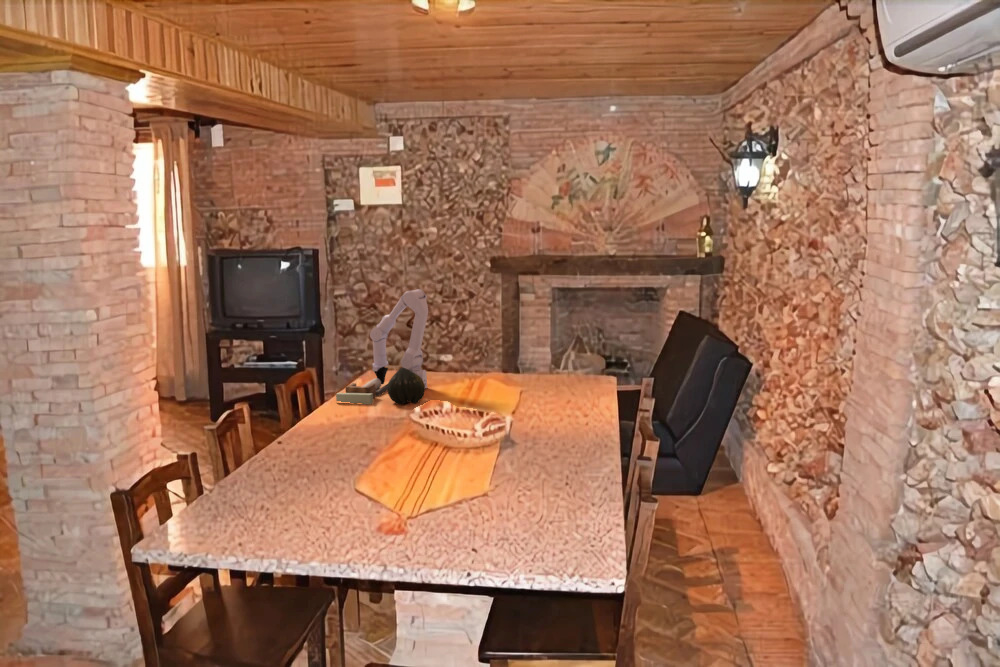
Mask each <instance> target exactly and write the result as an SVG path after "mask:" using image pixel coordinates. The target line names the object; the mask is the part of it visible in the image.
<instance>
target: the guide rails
mask: <svg viewBox="0 0 1000 667" xmlns="http://www.w3.org/2000/svg"><path fill="white" fill-rule="evenodd" d="M387 390H388V383H387V384H385V385H384V386H381V387H379V388H378V389H377V390H376V397H379V395H380V396H381V395H383V394H384V393H386V392H388V391H387ZM382 393H383V394H382Z"/></svg>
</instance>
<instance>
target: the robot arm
mask: <svg viewBox="0 0 1000 667" xmlns="http://www.w3.org/2000/svg"><path fill="white" fill-rule="evenodd" d="M427 298H428V296H427V294H426V293H425V292H424V290H423V289H421V288H417V289H414V290H407V291H404V293H403V294H402V295H401V296H400V298H399V300H398V301H397V303H396V304H395V306H394V307H393V309H392V310H391V312H390V313H389V314H386V315H382V317H381V320H380V322H379V323H378V324H376V326H375V327H374V328H372V329H371V331H370V332H369V336H370V339H371V340H372V351H373V352H372V353H373V363H371V366H372V372H374V374H375V376H376V378H379V380H380V381H381V385H384V384H385V380H386V375H387V372H388V369H389V368H388V366H389V360H388V359H387V339H388V337H389V332H390V331H391V330H392V329H393V327H394V326H395V325H396V323H397V321H396V320H397V318H398V317H399V316H400V315H401V314H402V313H403V311H404V310H405V309H406V308H407V307H408V308H410V309H411V310H412V311H413V312H414V318H413V324H412V326H411V327H412V328H411V332H410V337H409V342H408V347H407V348H406V350H405V351H404V354H403V357H402V358H401V359H400V365H401V368H402V367H403V368H406V369H408V370H410V371H412V372H414V373H415V374H417V375H418V376H420V377H421V379H422V380H423V382H424V385H425V388H426V389H427V388H428V387H429V386H428V378H427V377H428V376H427V370H425V369H421V368H422V365H423V363H424V358H423V354H424V353H423V351H422V349H421V348H422V344H423V340H424V335H425V329H426V324H427V320H428V315H429V307H428V306H429V305H428V301H427Z"/></svg>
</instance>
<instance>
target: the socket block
mask: <svg viewBox="0 0 1000 667" xmlns="http://www.w3.org/2000/svg"><path fill="white" fill-rule="evenodd" d="M376 391H377V390H376V389H375V384H370V385H368V386H367V387H362V386H357V382H354V383H353V382H352V383H351V384H349V385H348V386H346V387H345V393H373V400H374V399H376V398H377V396H376ZM375 397H376V398H375Z"/></svg>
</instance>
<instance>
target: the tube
mask: <svg viewBox="0 0 1000 667" xmlns="http://www.w3.org/2000/svg"><path fill="white" fill-rule="evenodd" d="M370 384H375V389H376V391H377V390H378V389H380V388H381V387H382V384H381V381H380V380H379V378H377V377H376V378H375V377H374V378H373V379H371V380H369V381H368V382H367V383H364V384H363V385H362V386H361V387H367V386H368V385H370Z"/></svg>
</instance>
